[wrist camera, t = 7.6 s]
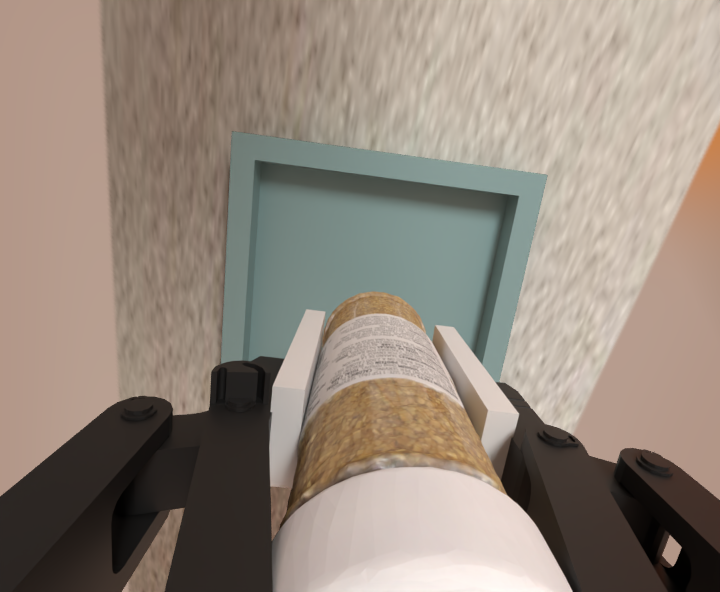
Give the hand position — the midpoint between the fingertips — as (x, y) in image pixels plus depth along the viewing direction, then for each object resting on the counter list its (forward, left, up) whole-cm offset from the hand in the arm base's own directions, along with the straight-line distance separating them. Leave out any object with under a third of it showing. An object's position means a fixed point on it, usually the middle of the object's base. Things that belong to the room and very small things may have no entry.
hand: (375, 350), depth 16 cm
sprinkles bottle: (0, 0, -2) cm, 2 cm away
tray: (0, 0, -9) cm, 9 cm away
